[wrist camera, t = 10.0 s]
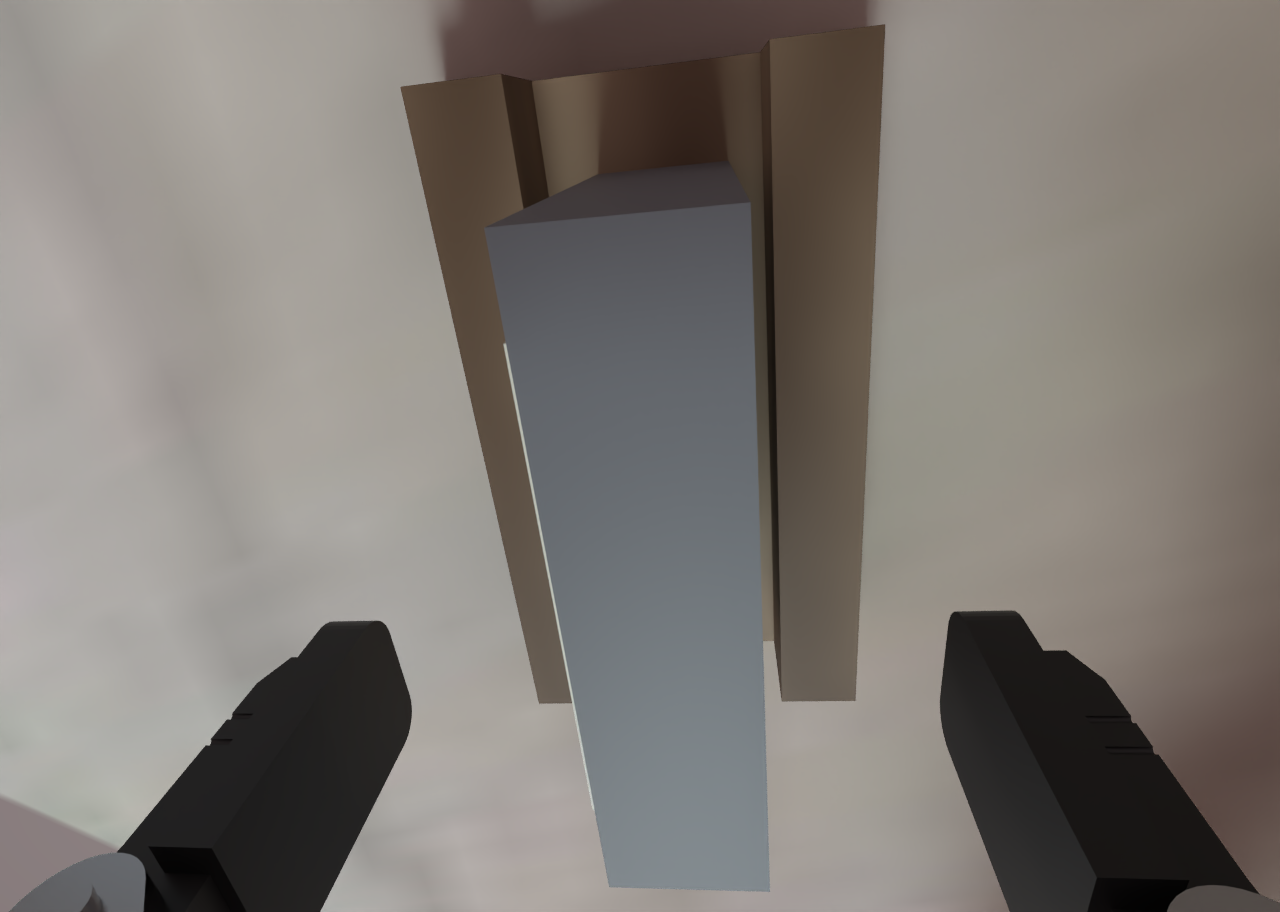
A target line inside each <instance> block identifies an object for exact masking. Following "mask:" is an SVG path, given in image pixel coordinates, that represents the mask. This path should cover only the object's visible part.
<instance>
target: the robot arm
mask: <svg viewBox="0 0 1280 912" xmlns="http://www.w3.org/2000/svg"><path fill="white" fill-rule="evenodd" d="M940 713H941V722H942V728H943V733H944V737H945V741H946V745H947V748H948V750H949V753H950V756H951V758H952V761H953V764H954V766H955V769H956V771H957V774H958V777H959V779H960V782H961V785H962V787H963V790H964V792H965V795H966V798H967V800H968V803H969V806H970V808H971V811H972V813H973V816H974V819H975V821H976V824H977V827H978V829H979V832H980V834H981V837H982V840H983V842H984V845H985V848H986V850H987V853H988V855H989V858H990V861H991V863H992V866H993V869H994V871H995V874H996V876H997V879H998V882H999V884H1000V887H1001V890H1002V892H1003V895H1004V897H1005V900H1006V903H1007V905H1008V908H1009V911H1010V912H1280V903H1279V902H1276V901H1274V900H1272V899H1269V898H1267V897H1265V896H1262V895H1260V894H1259V893H1258V892H1257V890H1256V889H1255V888H1254V887H1253V885H1252V884H1251V883H1250V882H1249V880H1248V879H1247V877H1246V876H1245V875H1244V873H1243V872H1242V871H1241V869H1240V868H1239V866H1238V865H1237V864H1236V862H1235V861H1234V859H1233V858H1232V857H1231V855H1230V854H1229V852H1228V851H1227V850H1226V848H1225V847H1224V845H1223V844H1222V843H1221V841H1220V840H1219V838H1218V837H1217V836H1216V834H1215V833H1214V831H1213V830H1212V829H1211V827H1210V826H1209V824H1208V823H1207V822H1206V820H1205V819H1204V817H1203V816H1202V815H1201V813H1200V812H1199V810H1198V809H1197V808H1196V806H1195V805H1194V803H1193V802H1192V801H1191V799H1190V798H1189V796H1188V795H1187V794H1186V792H1185V791H1184V789H1183V788H1182V787H1181V785H1180V784H1179V783H1178V781H1177V780H1176V778H1175V777H1174V776H1173V774H1172V773H1171V771H1170V770H1169V769H1168V767H1167V766H1166V764H1165V763H1164V762H1163V760H1162V759H1161V757H1160V756H1159V755H1155V754H1154V752H1153V746H1152V745H1151V743H1150V742H1149V741H1148V739H1147V738H1146V736H1145V735H1144V734H1143V732H1142V731H1141V729H1140V728H1139V727H1138V725H1137V724H1136V723H1132V721H1131V715H1130V714H1129V713H1128V711H1127V710H1126V708H1125V707H1124V706H1123V704H1122V703H1121V701H1120V700H1119V699H1118V697H1117V696H1116V694H1115V693H1114V692H1113V690H1112V689H1111V688H1110V686H1109V685H1108V683H1107V682H1106V681H1105V680H1104V679H1103V678H1102V677H1100V676H1099V675H1098V674H1096V673H1095V672H1094V671H1093V670H1091V669H1090V668H1089V667H1087V666H1086V665H1085V664H1083V663H1082V662H1081V661H1079V660H1078V659H1077V658H1075V657H1074V656H1073V655H1071V654H1070V653H1069V652H1067V651H1043V649H1042V648H1041V646H1040V645H1039V643H1038V641H1037V640H1036V638H1035V637H1034V635H1033V634H1032V632H1031V631H1030V629H1029V627H1028V626H1027V624H1026V623H1025V621H1024V620H1023V618H1022V617H1021V615H1020V614H1018V613H1017V612H1016V611H962V612H953V613H952V614H951V617H950V620H949V624H948V633H947V641H946V650H945V659H944V668H943V677H942V686H941V695H940ZM411 717H412V706H411V699H410V695H409V692H408V689H407V685H406V682H405V679H404V676H403V673H402V670H401V667H400V664H399V660H398V657H397V654H396V651H395V648H394V645H393V642H392V639H391V635H390V633H389V630H388V628H387V626H386V625H385V624H384V623H383V622H381V621H338V622H329V623H327V624H325V625H324V626H323V627H322V628H321V629H320V630H319V631H318V632H317V634H316V635H315V636H314V637H313V639H312V640H311V641H310V642H309V644H308V645H307V646H306V648H305V649H304V650H303V651H302V653H301V654H300V655H299V656H298V657H291V658H290V659H289V660H287V661H286V662H285V663H283V664H282V665H281V666H279V667H278V668H277V669H275V670H274V671H273V672H271V673H270V674H269V675H267V676H266V677H265V678H264V679H262V680H261V681H260V682H258V683H257V684H256V685H255V686H254V688H253V689H252V690H251V691H250V693H249V694H248V695H247V696H246V697H245V699H244V700H243V701H242V702H241V703H240V705H239V706H238V707H237V708H236V709H235V711H234V712H233V713H232V719H231V720H226V722H225V723H224V724H223V725H222V726H221V728H220V729H219V730H218V731H217V732H216V734H215V735H214V736H213V737H212V738H211V744H210V746H205V747H204V748H203V749H202V751H201V752H200V753H199V754H198V755H197V757H196V758H195V759H194V760H193V761H192V763H191V764H190V765H189V766H188V767H187V769H186V770H185V771H184V772H183V774H182V775H181V776H180V777H179V778H178V780H177V781H176V782H175V783H174V784H173V786H172V787H171V788H170V789H169V790H168V792H167V793H166V794H165V795H164V796H163V798H162V799H161V800H160V801H159V803H158V804H157V805H156V806H155V807H154V809H153V810H152V811H151V812H150V813H149V815H148V816H147V817H146V818H145V819H144V821H143V822H142V823H141V824H140V825H139V827H138V828H137V829H136V830H135V832H134V833H133V834H132V835H131V836H130V838H129V839H128V840H127V841H126V842H125V844H124V845H123V846H122V847H121V848H120V849H119V850H118V851H117V853H108V854H102V855H98V856H94V857H91V858H88V859H85V860H83V861H81V862H78V863H76V864H73V865H72V866H70V867H68V868H66V869H64V870H62V871H60V872H58V873H57V874H55V875H54V876H52V877H50V878H49V879H47V880H46V881H44V882H43V883H42V884H40V885H39V886H38V887H36V888H35V889H33V890H32V891H31V892H30V893H29V894H27V895H26V896H25V897H24V898H23V899H22V900H21V901H19V902H18V903H17V904H16V905H15V906H14V907H13V908H12V909H11V910H10V911H9V912H320V911H321V909H322V907H323V905H324V903H325V901H326V899H327V897H328V895H329V893H330V891H331V889H332V887H333V885H334V883H335V881H336V879H337V877H338V875H339V873H340V871H341V869H342V867H343V865H344V863H345V861H346V859H347V857H348V855H349V853H350V851H351V849H352V847H353V845H354V843H355V841H356V839H357V837H358V835H359V833H360V831H361V829H362V827H363V825H364V824H365V822H366V820H367V818H368V816H369V814H370V812H371V810H372V808H373V806H374V804H375V802H376V800H377V798H378V796H379V794H380V792H381V790H382V788H383V786H384V784H385V782H386V780H387V778H388V776H389V774H390V772H391V770H392V768H393V766H394V764H395V762H396V760H397V758H398V756H399V754H400V752H401V750H402V748H403V746H404V744H405V742H406V740H407V737H408V734H409V730H410V725H411Z"/></svg>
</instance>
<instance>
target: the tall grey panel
mask: <svg viewBox="0 0 1280 912" xmlns="http://www.w3.org/2000/svg"><path fill="white" fill-rule="evenodd" d="M484 230H485V235H486V241H487V246H488V251H489V257H490V262H491V267H492V272H493V278H494V283H495V288H496V293H497V299H498V304H499V309H500V314H501V320H502V325H503V330H504V335H505V343H504V344H503V345H504V350H505V355H506V360H507V366H508V371H509V376H510V381H511V386H512V392H513V397H514V402H515V407H516V413H517V418H518V423H519V428H520V433H521V439H522V444H523V449H524V454H525V459H526V465H527V470H528V475H529V480H530V486H531V491H532V496H533V501H534V506H535V512H536V517H537V522H538V527H539V532H540V538H541V543H542V548H543V553H544V559H545V564H546V569H547V574H548V579H549V585H550V590H551V595H552V600H553V606H554V611H555V616H556V621H557V626H558V632H559V637H560V642H561V647H562V652H563V658H564V663H565V668H566V673H567V679H568V684H569V689H570V694H571V699H572V705H573V710H574V715H575V720H576V725H577V731H578V736H579V741H580V746H581V752H582V757H583V762H584V767H585V772H586V778H587V783H588V788H589V793H590V799H591V804H592V809H593V810H595V815H596V820H597V825H598V830H599V836H600V841H601V846H602V852H603V857H604V862H605V867H606V873H607V878H608V883H609V887H622V888H657V889H693V890H728V891H764V892H770V879H769V843H768V807H767V772H766V736H765V700H764V664H763V628H762V592H761V556H760V521H759V485H758V449H757V413H756V377H755V341H754V305H753V270H752V234H751V202H750V200H749V198H748V196H747V195H746V193H745V191H744V189H743V187H742V185H741V183H740V182H739V180H738V178H737V176H736V174H735V172H734V170H733V168H732V167H731V165H730V163H729V161H721V162H711V163H701V164H692V165H682V166H672V167H663V168H653V169H643V170H633V171H624V172H614V173H604V174H597V175H595V176H593V177H591V178H589V179H587V180H585V181H582V182H580V183H578V184H576V185H574V186H572V187H570V188H568V189H565V190H563V191H561V192H559V193H557V194H555V195H553V196H551V197H548V198H546V199H544V200H542V201H540V202H538V203H536V204H533V205H531V206H529V207H527V208H525V209H523V210H521V211H519V212H516V213H514V214H512V215H510V216H508V217H506V218H504V219H502V220H499V221H497V222H495V223H493V224H491V225H489V226H487V227H484Z"/></svg>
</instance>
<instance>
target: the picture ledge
mask: <svg viewBox="0 0 1280 912" xmlns="http://www.w3.org/2000/svg"><path fill="white" fill-rule="evenodd" d="M884 39H885V24H884V25H877V26H869V27H861V28H853V29H846V30H838V31H830V32H822V33H815V34H807V35H799V36H791V37H784V38H776V39H770V40H769V41H768V42H767V44H766V45H765V46H764V48H763V49H762V50H761V52H758V53H750V54H742V55H734V56H726V57H718V58H710V59H702V60H694V61H687V62H679V63H671V64H663V65H655V66H647V67H639V68H631V69H623V70H616V71H608V72H600V73H592V74H584V75H576V76H568V77H560V78H552V79H544V80H537V81H529V80H525V79H520V78H516V77H512V76H508V75H503V74H496V75H488V76H481V77H473V78H465V79H457V80H450V81H442V82H434V83H426V84H419V85H411V86H403V87H401V92H402V96H403V101H404V105H405V109H406V114H407V118H408V123H409V127H410V132H411V136H412V141H413V145H414V149H415V154H416V158H417V163H418V167H419V172H420V176H421V181H422V185H423V189H424V194H425V198H426V203H427V207H428V212H429V216H430V221H431V225H432V229H433V234H434V238H435V243H436V247H437V252H438V256H439V261H440V265H441V269H442V274H443V278H444V283H445V287H446V292H447V296H448V301H449V305H450V309H451V314H452V318H453V323H454V327H455V332H456V336H457V341H458V345H459V349H460V354H461V358H462V363H463V367H464V372H465V376H466V381H467V385H468V389H469V394H470V398H471V403H472V407H473V412H474V416H475V421H476V425H477V429H478V434H479V438H480V443H481V447H482V452H483V456H484V461H485V465H486V469H487V474H488V478H489V483H490V487H491V492H492V496H493V501H494V505H495V509H496V514H497V518H498V523H499V527H500V532H501V536H502V541H503V545H504V549H505V554H506V558H507V563H508V567H509V572H510V576H511V581H512V585H513V589H514V594H515V598H516V603H517V607H518V612H519V616H520V621H521V625H522V629H523V634H524V638H525V643H526V647H527V652H528V656H529V661H530V665H531V670H532V674H533V678H534V683H535V687H536V692H537V696H538V701H539V703H572V699H571V694H570V689H569V684H568V679H567V673H566V668H565V663H564V658H563V652H562V647H561V642H560V637H559V632H558V626H557V621H556V616H555V611H554V606H553V600H552V595H551V590H550V585H549V579H548V574H547V569H546V564H545V559H544V553H543V548H542V543H541V538H540V532H539V527H538V522H537V517H536V512H535V506H534V501H533V496H532V491H531V486H530V480H529V475H528V470H527V465H526V459H525V454H524V449H523V444H522V439H521V433H520V428H519V423H518V418H517V413H516V407H515V402H514V397H513V392H512V386H511V381H510V376H509V371H508V366H507V360H506V355H505V350H504V345H503V344H504V343H505V335H504V330H503V325H502V320H501V314H500V309H499V304H498V299H497V293H496V288H495V283H494V278H493V272H492V267H491V262H490V257H489V251H488V246H487V241H486V235H485V230H484V227H487V226H489V225H491V224H493V223H495V222H497V221H499V220H502V219H504V218H506V217H508V216H510V215H512V214H514V213H516V212H519V211H521V210H523V209H525V208H527V207H529V206H531V205H533V204H536V203H538V202H540V201H542V200H544V199H546V198H548V197H551V196H553V195H555V194H557V193H559V192H561V191H563V190H565V189H568V188H570V187H572V186H574V185H576V184H578V183H580V182H582V181H585V180H587V179H589V178H591V177H593V176H595V175H597V174H604V173H614V172H624V171H633V170H643V169H653V168H663V167H672V166H682V165H692V164H701V163H711V162H721V161H729V163H730V165H731V167H732V168H733V170H734V172H735V174H736V176H737V178H738V180H739V182H740V183H741V185H742V187H743V189H744V191H745V193H746V195H747V196H748V198H749V200H750V202H751V234H752V270H753V305H754V341H755V377H756V413H757V449H758V485H759V521H760V556H761V592H762V628H763V641H774V644H775V651H776V659H777V667H778V675H779V683H780V691H781V698H782V701H855V698H856V675H857V653H858V630H859V607H860V585H861V562H862V539H863V516H864V494H865V471H866V448H867V426H868V403H869V380H870V357H871V335H872V312H873V289H874V267H875V244H876V221H877V198H878V176H879V153H880V130H881V108H882V85H883V62H884Z"/></svg>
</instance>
